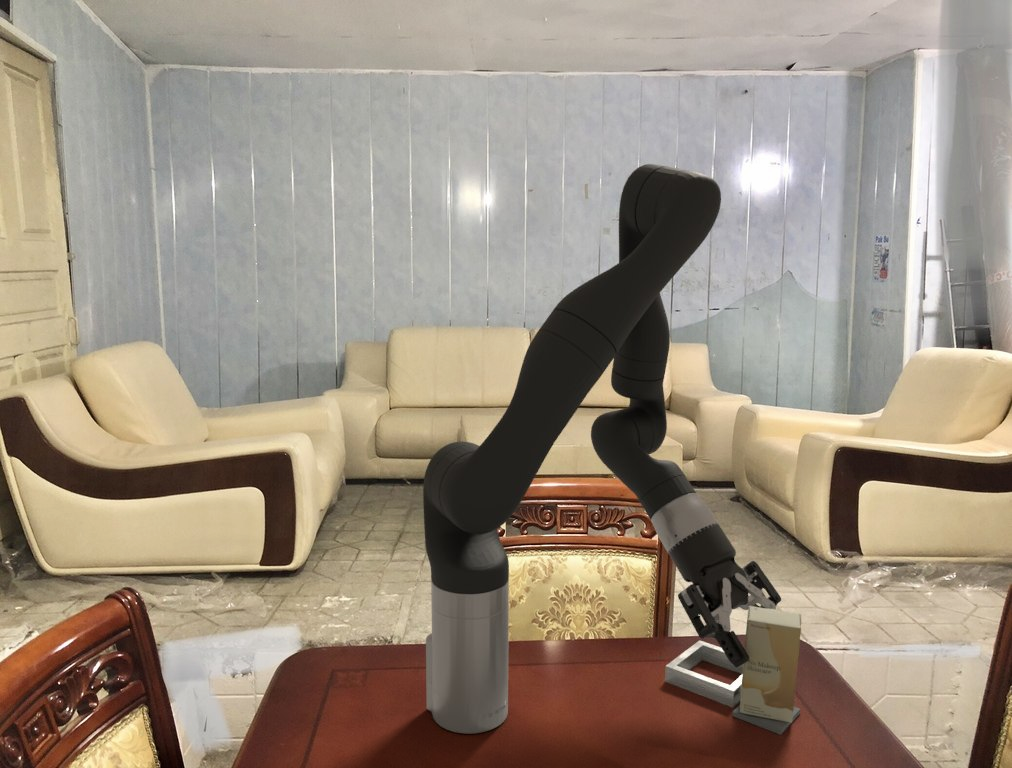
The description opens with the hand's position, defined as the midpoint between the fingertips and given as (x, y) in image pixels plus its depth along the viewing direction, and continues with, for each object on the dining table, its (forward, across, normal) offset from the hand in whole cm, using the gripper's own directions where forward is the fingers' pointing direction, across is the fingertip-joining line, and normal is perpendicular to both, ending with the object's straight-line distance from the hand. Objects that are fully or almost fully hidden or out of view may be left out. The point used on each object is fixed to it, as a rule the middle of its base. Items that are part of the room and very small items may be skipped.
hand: (764, 653), depth 97 cm
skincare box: (+6, 0, +5) cm, 7 cm away
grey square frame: (0, +2, +12) cm, 12 cm away
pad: (+6, 0, +5) cm, 8 cm away
